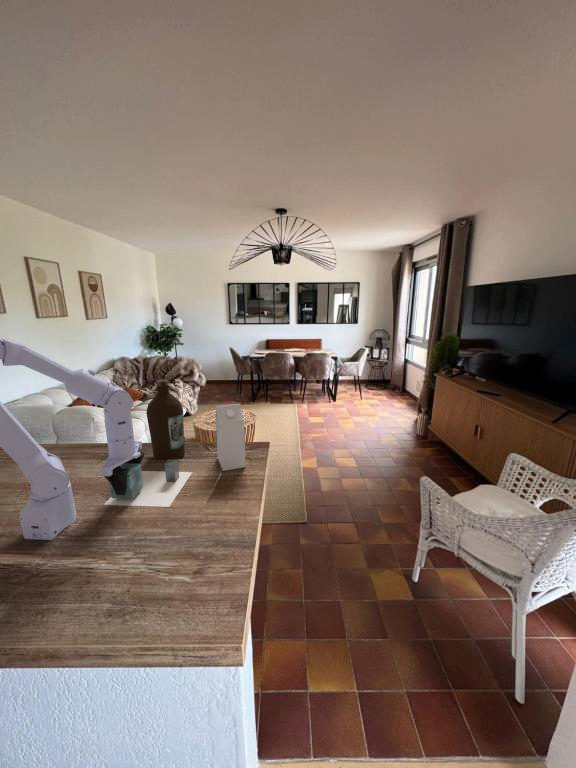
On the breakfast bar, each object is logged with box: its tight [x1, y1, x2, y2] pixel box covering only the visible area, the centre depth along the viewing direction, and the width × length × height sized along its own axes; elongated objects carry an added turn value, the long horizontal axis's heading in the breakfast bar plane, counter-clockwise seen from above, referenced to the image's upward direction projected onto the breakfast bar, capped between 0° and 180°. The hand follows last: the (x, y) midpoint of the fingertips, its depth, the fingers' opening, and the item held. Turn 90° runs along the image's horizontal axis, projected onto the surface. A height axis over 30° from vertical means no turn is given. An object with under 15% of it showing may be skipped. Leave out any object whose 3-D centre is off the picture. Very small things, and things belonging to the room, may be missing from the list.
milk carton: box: [214, 403, 246, 472], centre depth 97 cm, size 7×7×19 cm
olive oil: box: [145, 379, 186, 461], centre depth 101 cm, size 11×11×25 cm
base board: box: [103, 470, 193, 508], centre depth 85 cm, size 16×16×1 cm
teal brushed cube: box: [109, 463, 143, 499], centre depth 80 cm, size 5×5×7 cm
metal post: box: [164, 459, 180, 482], centre depth 88 cm, size 3×3×5 cm
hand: (127, 487), depth 81 cm, fingers closed on teal brushed cube, 5 cm apart
